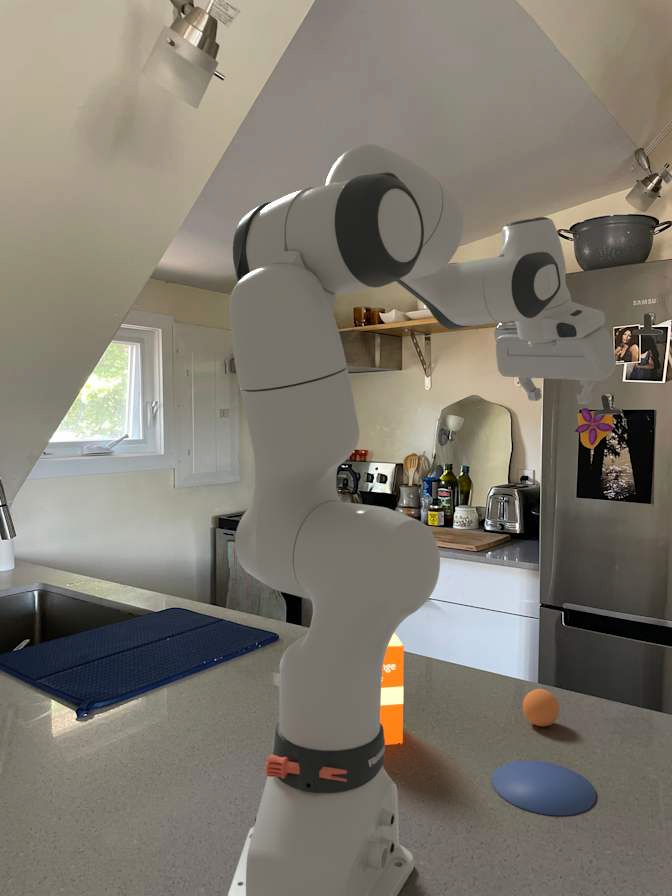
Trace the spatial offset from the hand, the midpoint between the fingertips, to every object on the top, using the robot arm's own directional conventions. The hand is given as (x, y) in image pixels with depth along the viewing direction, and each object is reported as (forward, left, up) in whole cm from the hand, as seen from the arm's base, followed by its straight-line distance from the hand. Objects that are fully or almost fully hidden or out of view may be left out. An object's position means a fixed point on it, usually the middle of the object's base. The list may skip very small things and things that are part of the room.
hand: (559, 401), depth 115 cm
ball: (-9, +2, -48) cm, 49 cm away
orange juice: (-19, +27, -51) cm, 61 cm away
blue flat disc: (-28, +2, -51) cm, 58 cm away
